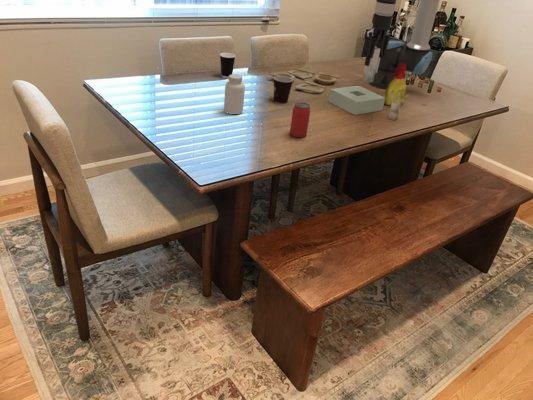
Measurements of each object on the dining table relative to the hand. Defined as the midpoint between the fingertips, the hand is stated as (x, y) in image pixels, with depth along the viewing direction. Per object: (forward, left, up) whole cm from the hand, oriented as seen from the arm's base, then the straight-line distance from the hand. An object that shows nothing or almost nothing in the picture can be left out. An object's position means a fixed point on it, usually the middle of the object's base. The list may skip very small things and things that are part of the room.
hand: (370, 72), depth 185 cm
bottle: (-26, -5, -19) cm, 33 cm away
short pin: (-11, +9, -19) cm, 24 cm away
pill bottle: (+54, -21, -19) cm, 61 cm away
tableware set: (-4, -46, -19) cm, 50 cm away
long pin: (0, 0, -4) cm, 4 cm away
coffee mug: (+25, -27, -19) cm, 41 cm away
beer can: (+42, +8, -19) cm, 47 cm away
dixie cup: (+33, -64, -19) cm, 74 cm away
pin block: (-5, -9, -19) cm, 21 cm away
